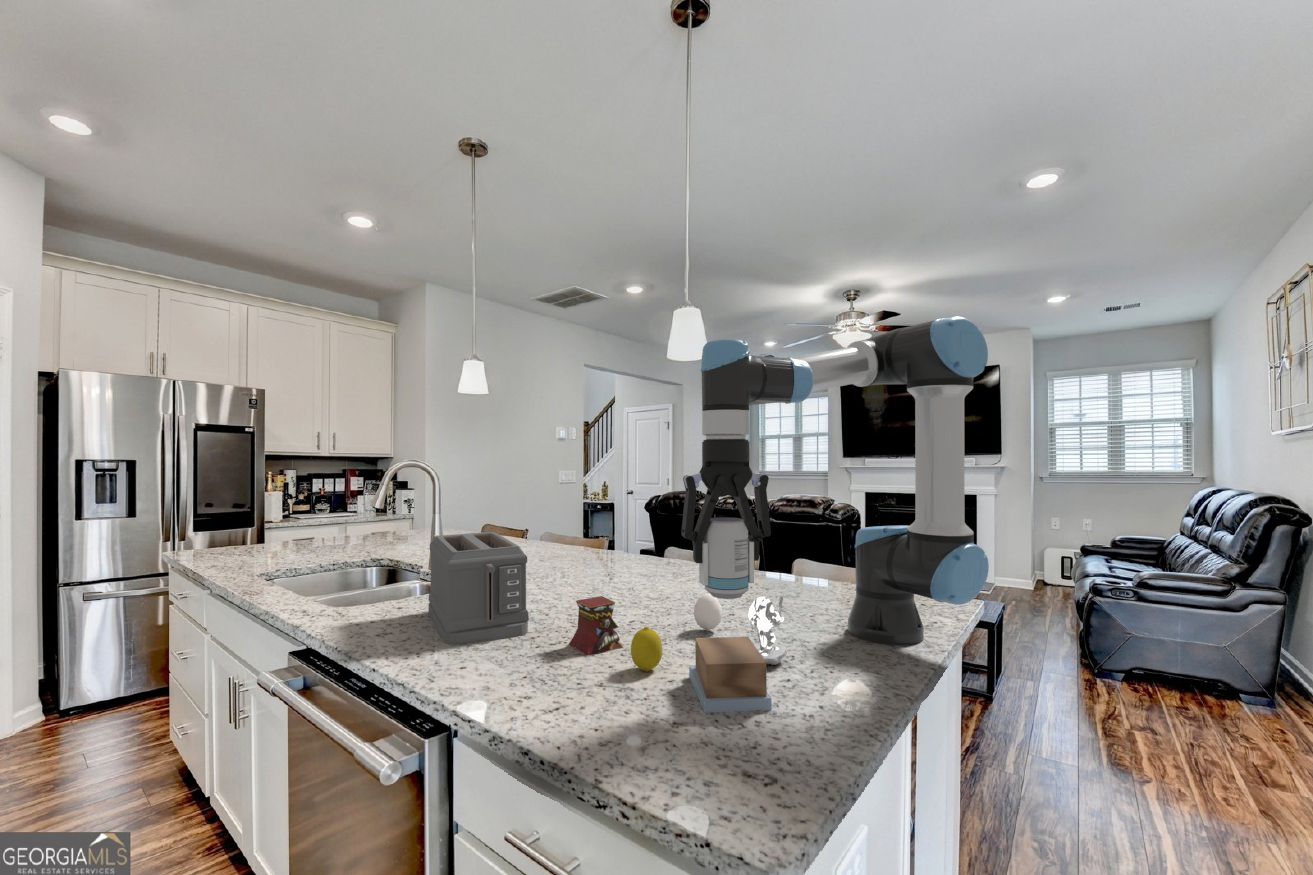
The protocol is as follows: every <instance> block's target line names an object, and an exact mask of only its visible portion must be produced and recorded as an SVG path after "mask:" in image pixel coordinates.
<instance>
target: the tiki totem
mask: <svg viewBox="0 0 1313 875" xmlns="http://www.w3.org/2000/svg"><path fill="white" fill-rule="evenodd" d="M575 602H576V604H577V606H578V613H577V614H578V617H577V628H576V630H575V633H574V634H573V637H572V639H571V640H570V641H569V643H568V645H569V646H571V647H572V648H574V649H575V650H577V651H579V652H581V653H583V654H585V655H586V656H591V655H596V654H601V653H605V652H609V651H614V650H618V649H623V648H624V646H623V644H622V643H621V641H620V640H621V639H620V636H619V634H618V633H617V632H616V630H615V629H618V628H619V626H618V624H617V623H616V621H614V619H613V613H614V609H615V606H616V602H615V601H613V600H612V599H609V598H607V597H604V596H603V595H600V596H594V597H589V598H588V597H587V598H584V599H579V600H578V599H577V600H575Z"/></svg>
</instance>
